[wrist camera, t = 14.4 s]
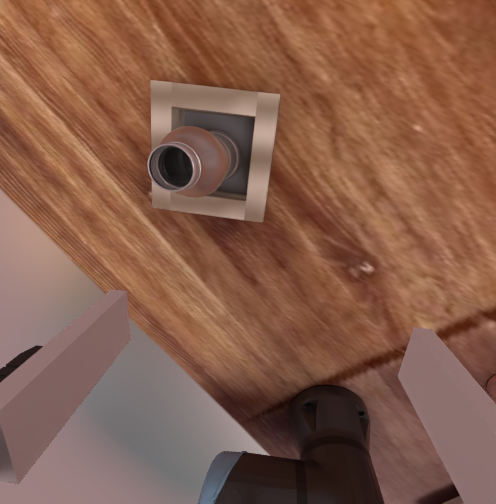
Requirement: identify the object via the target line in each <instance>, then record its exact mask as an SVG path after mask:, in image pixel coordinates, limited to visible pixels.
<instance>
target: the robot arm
mask: <svg viewBox="0 0 496 504" xmlns="http://www.w3.org/2000/svg"><path fill="white" fill-rule="evenodd" d="M129 341H130V328H129V314H128V300H127V291H120V290H112V289H111V290H110V291H109V292H108V293H106V294H105V295H104V296H103V297H102V298H100V300H98V301H97V302H96V303H95V304H93V305H92V306H91V307H90V308H89V309H88V310H86V311H85V312H84V313H83V314H81V315H80V316H79V317H78V318H77V319H76V320H74V321H73V322H72V323H71V324H70V325H69V326H67V327H66V328H65V329H64V330H62V331H61V332H60V333H59V334H58V335H57V336H55V337H54V338H53V339H52V340H51V341H49V342H48V343H47V344H46V345H45V346H35V347H33V348H31V349H29V350H27V351H25V352H23V353H21V354H19V355H18V356H17V357H15V358H14V359H13V360H12V361H10V362H9V363H8V364H6V367H3V368H1V369H0V481H3V482H8V483H14V484H19V483H20V482H21V480H22V479H23V478H24V477H25V475H26V474H27V472H28V471H29V470H30V469H31V467H32V466H33V465H34V464H35V462H36V461H37V459H38V458H39V457H40V456H41V455H42V453H43V452H44V451H45V449H46V448H47V447H48V446H49V444H50V443H51V442H52V440H53V439H54V438H55V437H56V435H57V434H58V433H59V431H60V430H61V429H62V427H63V426H64V425H65V424H66V422H67V421H68V420H69V418H70V417H71V416H72V415H73V413H74V412H75V411H76V409H77V408H78V407H79V405H80V404H81V403H82V402H83V400H84V399H85V398H86V397H87V395H88V394H89V393H90V391H91V390H92V388H94V386H95V385H96V384H97V382H98V381H99V380H100V378H101V377H102V376H103V375H104V373H105V372H106V370H107V369H108V368H109V367H110V366H111V364H112V363H113V362H114V360H115V359H116V358H117V356H118V355H119V354H120V353H121V351H122V350H123V349H124V348H125V346H126V345H127V344H128V342H129ZM398 378H399V380H400V382H401V384H402V386H403V388H404V389H405V391H406V393H407V395H408V397H409V399H410V401H411V403H412V405H413V407H414V409H415V410H416V412H417V414H418V416H419V418H420V420H421V422H422V424H423V426H424V428H425V429H426V431H427V433H428V435H429V437H430V439H431V441H432V443H433V445H434V447H435V449H436V450H437V452H438V454H439V456H440V458H441V460H442V462H443V464H444V466H445V468H446V470H447V471H448V473H449V475H450V477H451V479H452V481H453V483H454V485H455V487H456V489H457V491H458V492H459V494H460V496H461V498H462V500H463V502H464V504H496V404H495V403H494V402H493V401H492V399H491V398H490V397H489V396H488V395H487V393H486V392H485V391H484V390H483V389H482V388H481V386H480V385H479V384H478V383H477V382H476V381H475V379H474V378H473V377H472V376H471V375H470V374H469V372H468V371H467V370H466V369H465V368H464V366H463V365H462V364H461V363H460V362H459V361H458V359H457V358H456V357H455V356H454V355H453V354H452V352H451V351H450V350H449V349H448V348H447V346H446V345H445V344H444V343H443V342H442V341H441V339H440V338H439V337H438V336H437V335H436V334H435V332H434V331H433V330H432V329H424V328H416V327H414V329H413V332H412V335H411V338H410V341H409V344H408V347H407V350H406V353H405V356H404V359H403V362H402V365H401V368H400V371H399V374H398ZM288 419H289V428H290V431H291V434H292V436H293V439H294V441H295V444H296V447H297V449H298V452H299V454H300V460H297V459H289V458H282V457H275V456H268V455H261V454H253V453H247V452H246V451H242V452H229V451H224V452H221V453H219V454H218V455H217V456H216V457H215V459H214V460H213V462H212V464H211V466H210V468H209V470H208V473H207V475H206V478H205V481H204V484H203V488H202V491H201V495H200V498H199V502H198V504H384V500H383V497H382V494H381V490H380V487H379V484H378V480H377V477H376V474H375V470H374V467H373V464H372V460H371V457H370V453H369V444H370V419H369V415H368V412H367V409H366V406H365V404H364V403H363V401H362V400H361V399H360V398H359V397H358V396H357V395H356V394H354V393H353V392H351V391H349V390H347V389H344V388H341V387H336V386H317V387H313V388H310V389H307V390H305V391H303V392H301V393H300V394H299V395H297V396H296V397H295V398H294V399H293V401H292V402H291V404H290V406H289V410H288Z"/></svg>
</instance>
